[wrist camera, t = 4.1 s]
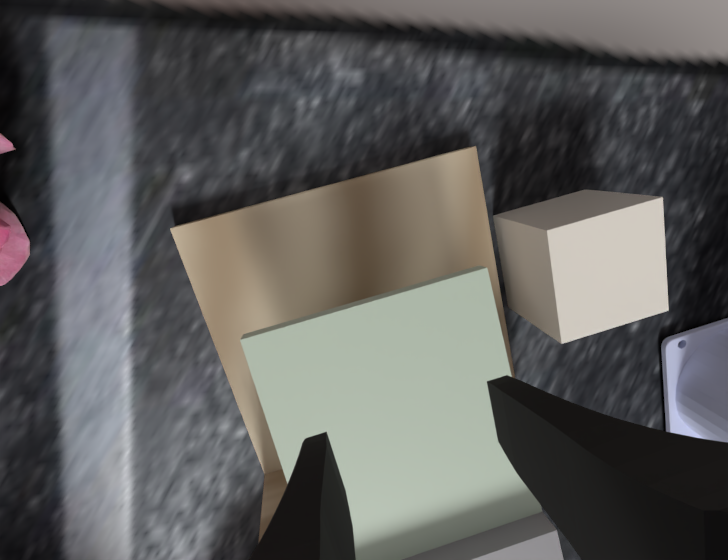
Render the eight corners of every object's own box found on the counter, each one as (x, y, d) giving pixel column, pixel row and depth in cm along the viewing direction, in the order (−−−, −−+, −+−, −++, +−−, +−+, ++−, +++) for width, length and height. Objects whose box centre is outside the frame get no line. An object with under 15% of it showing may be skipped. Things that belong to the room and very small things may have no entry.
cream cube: (584, 189, 23) (662, 197, 18) (593, 280, 24) (668, 310, 19) (492, 215, 22) (546, 230, 17) (507, 306, 24) (561, 343, 19)
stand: (469, 146, 21) (560, 139, 14) (518, 428, 26) (605, 533, 18) (174, 226, 20) (107, 263, 13) (281, 505, 24) (276, 648, 17)
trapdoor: (469, 262, 18) (499, 271, 15) (533, 540, 21) (571, 594, 18) (247, 327, 18) (234, 349, 15) (339, 608, 20) (344, 676, 17)
